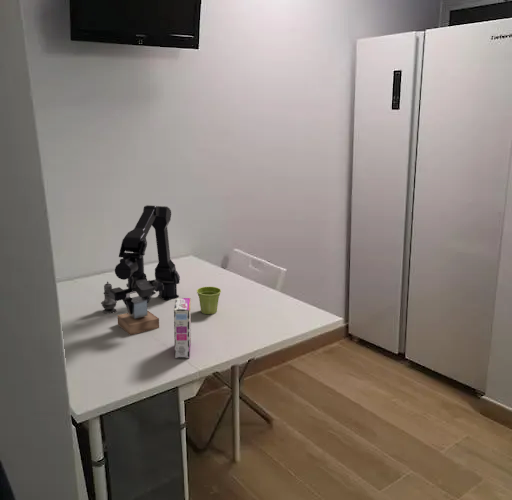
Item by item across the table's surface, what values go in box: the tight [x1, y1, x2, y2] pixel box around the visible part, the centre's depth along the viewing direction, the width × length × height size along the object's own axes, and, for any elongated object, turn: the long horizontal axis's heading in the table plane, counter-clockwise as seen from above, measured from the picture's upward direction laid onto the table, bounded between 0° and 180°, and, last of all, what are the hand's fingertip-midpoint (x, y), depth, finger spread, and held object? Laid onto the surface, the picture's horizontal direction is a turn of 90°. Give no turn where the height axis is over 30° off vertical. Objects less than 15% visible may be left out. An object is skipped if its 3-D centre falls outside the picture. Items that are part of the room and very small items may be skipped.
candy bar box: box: [173, 297, 192, 359], centre depth 167 cm, size 11×5×16 cm, turn 5°
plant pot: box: [196, 286, 222, 315], centre depth 201 cm, size 9×9×9 cm
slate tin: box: [127, 295, 148, 319], centre depth 186 cm, size 5×5×6 cm
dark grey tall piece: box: [100, 280, 118, 314], centre depth 200 cm, size 6×6×12 cm
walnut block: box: [116, 309, 160, 336], centre depth 187 cm, size 11×11×4 cm
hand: (137, 312), depth 186 cm, fingers closed on slate tin, 5 cm apart
